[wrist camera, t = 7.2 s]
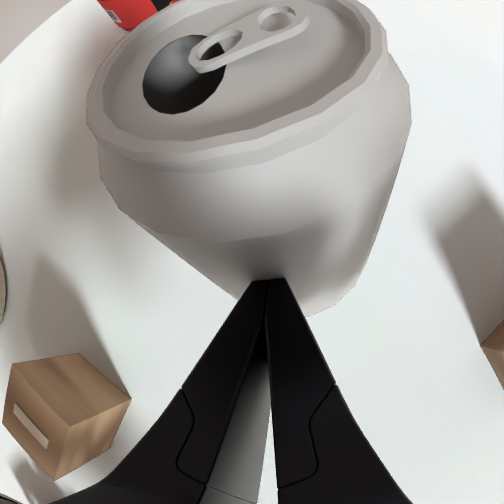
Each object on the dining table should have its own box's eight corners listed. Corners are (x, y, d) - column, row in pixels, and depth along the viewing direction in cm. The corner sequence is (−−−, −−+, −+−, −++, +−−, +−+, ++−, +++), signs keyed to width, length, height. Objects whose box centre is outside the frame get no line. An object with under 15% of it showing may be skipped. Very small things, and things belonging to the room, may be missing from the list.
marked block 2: (109, 448, 17) (53, 481, 11) (60, 403, 19) (-1, 422, 13) (132, 398, 17) (68, 427, 12) (77, 352, 19) (9, 362, 13)
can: (208, 203, 18) (85, 30, 7) (338, 166, 17) (327, -47, 6) (234, 337, 15) (28, 262, 4) (386, 295, 14) (513, 120, 3)
